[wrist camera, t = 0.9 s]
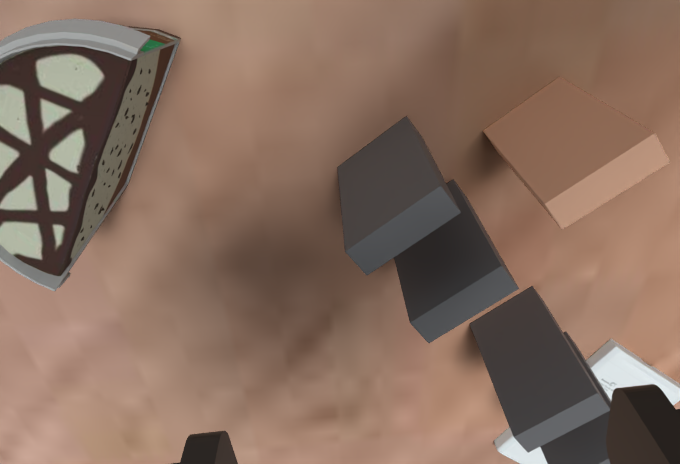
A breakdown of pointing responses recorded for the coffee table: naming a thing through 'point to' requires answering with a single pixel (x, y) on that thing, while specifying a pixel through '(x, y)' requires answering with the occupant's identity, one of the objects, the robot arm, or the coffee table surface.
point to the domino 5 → (581, 433)
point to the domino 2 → (452, 273)
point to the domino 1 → (391, 196)
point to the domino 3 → (535, 371)
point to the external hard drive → (612, 372)
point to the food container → (71, 134)
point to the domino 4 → (574, 150)
